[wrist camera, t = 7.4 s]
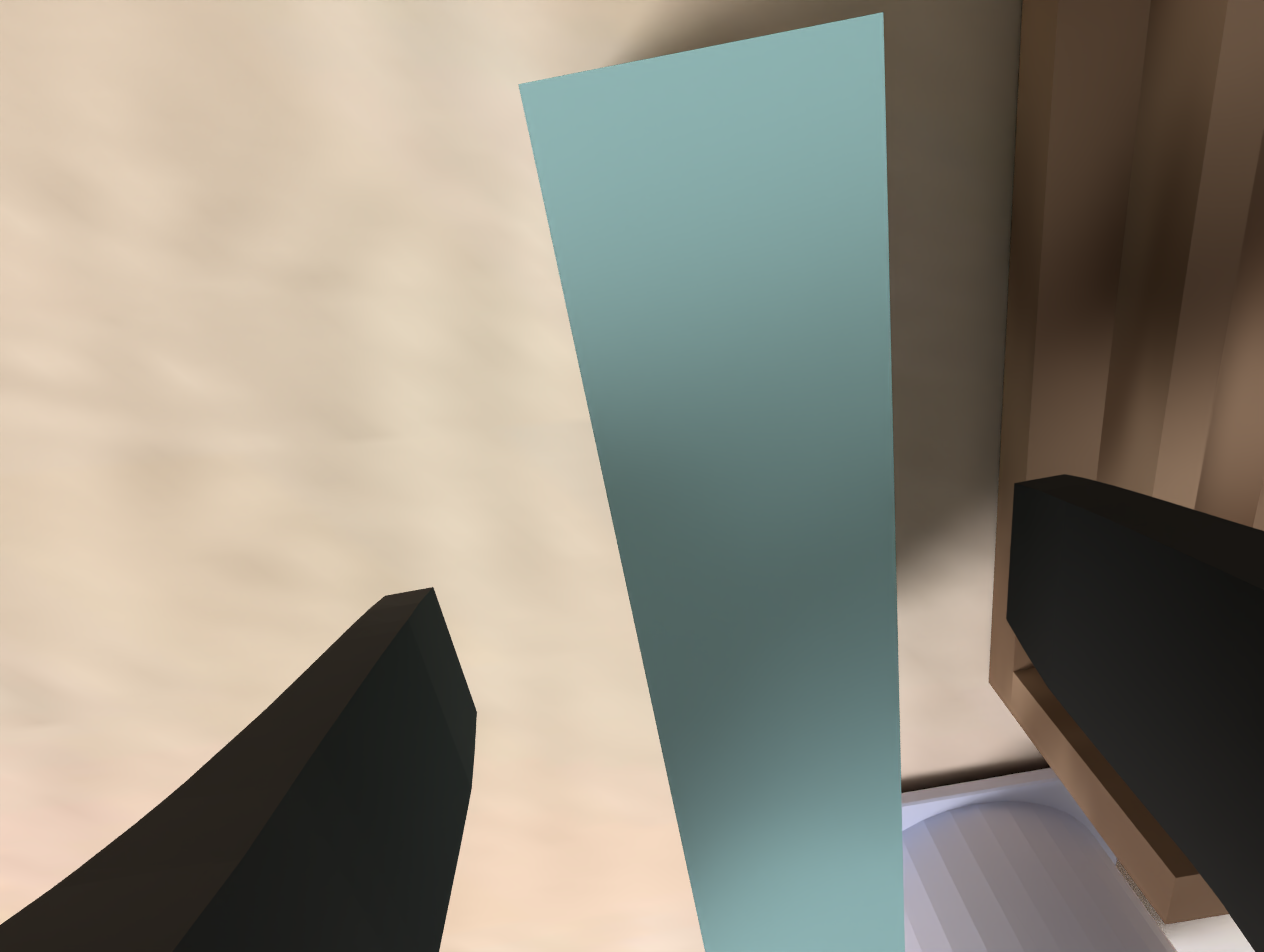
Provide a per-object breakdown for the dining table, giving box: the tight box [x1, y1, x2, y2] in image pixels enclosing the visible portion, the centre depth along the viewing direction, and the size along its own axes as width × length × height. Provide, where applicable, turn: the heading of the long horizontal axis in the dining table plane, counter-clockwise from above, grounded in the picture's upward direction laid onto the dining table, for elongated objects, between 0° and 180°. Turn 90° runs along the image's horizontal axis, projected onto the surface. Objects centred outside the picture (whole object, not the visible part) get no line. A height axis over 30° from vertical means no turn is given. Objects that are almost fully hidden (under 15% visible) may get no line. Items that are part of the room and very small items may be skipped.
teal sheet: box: [519, 12, 905, 952], centre depth 11 cm, size 12×2×9 cm, turn 10°
